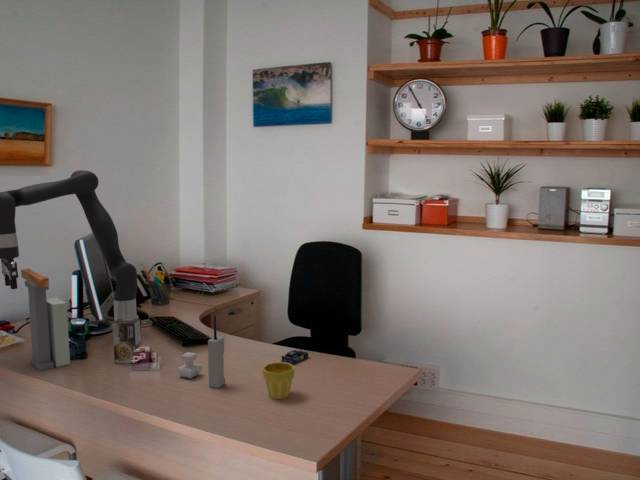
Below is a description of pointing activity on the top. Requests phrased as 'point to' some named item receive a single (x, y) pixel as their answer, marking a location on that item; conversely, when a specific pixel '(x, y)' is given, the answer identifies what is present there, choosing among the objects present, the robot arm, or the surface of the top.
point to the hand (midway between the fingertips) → (11, 287)
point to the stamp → (189, 366)
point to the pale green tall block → (58, 331)
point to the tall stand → (39, 326)
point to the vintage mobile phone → (216, 360)
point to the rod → (35, 277)
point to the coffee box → (126, 339)
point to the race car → (295, 357)
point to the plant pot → (278, 379)
